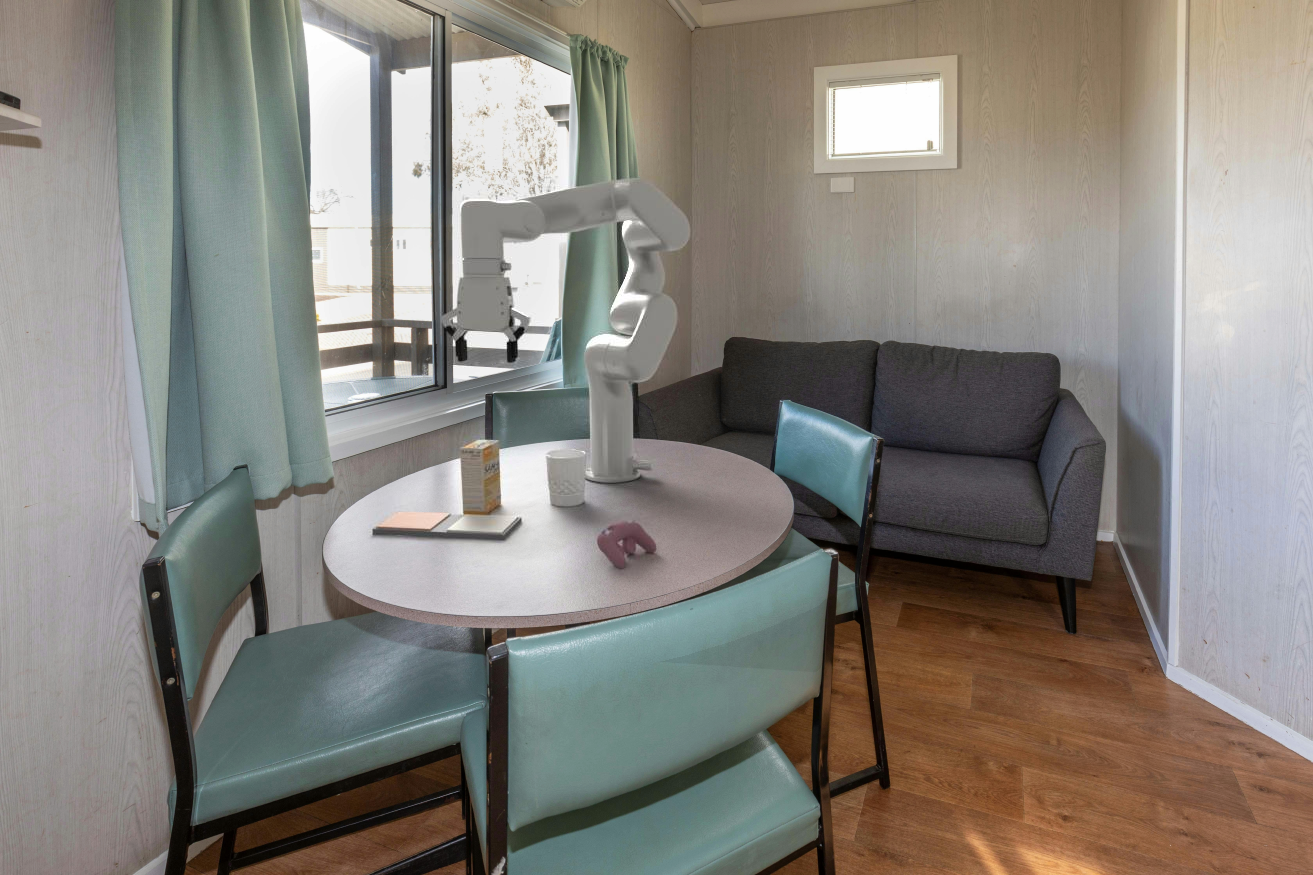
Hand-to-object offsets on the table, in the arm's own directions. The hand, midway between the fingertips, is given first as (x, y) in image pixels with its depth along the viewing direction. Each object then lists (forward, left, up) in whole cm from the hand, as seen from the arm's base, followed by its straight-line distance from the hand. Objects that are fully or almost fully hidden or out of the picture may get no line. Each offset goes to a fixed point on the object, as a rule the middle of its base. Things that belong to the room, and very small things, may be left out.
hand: (487, 361), depth 152 cm
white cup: (-14, -4, -29) cm, 32 cm away
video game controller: (-31, +25, -29) cm, 49 cm away
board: (+3, +15, -29) cm, 32 cm away
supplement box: (+1, +3, -29) cm, 29 cm away
